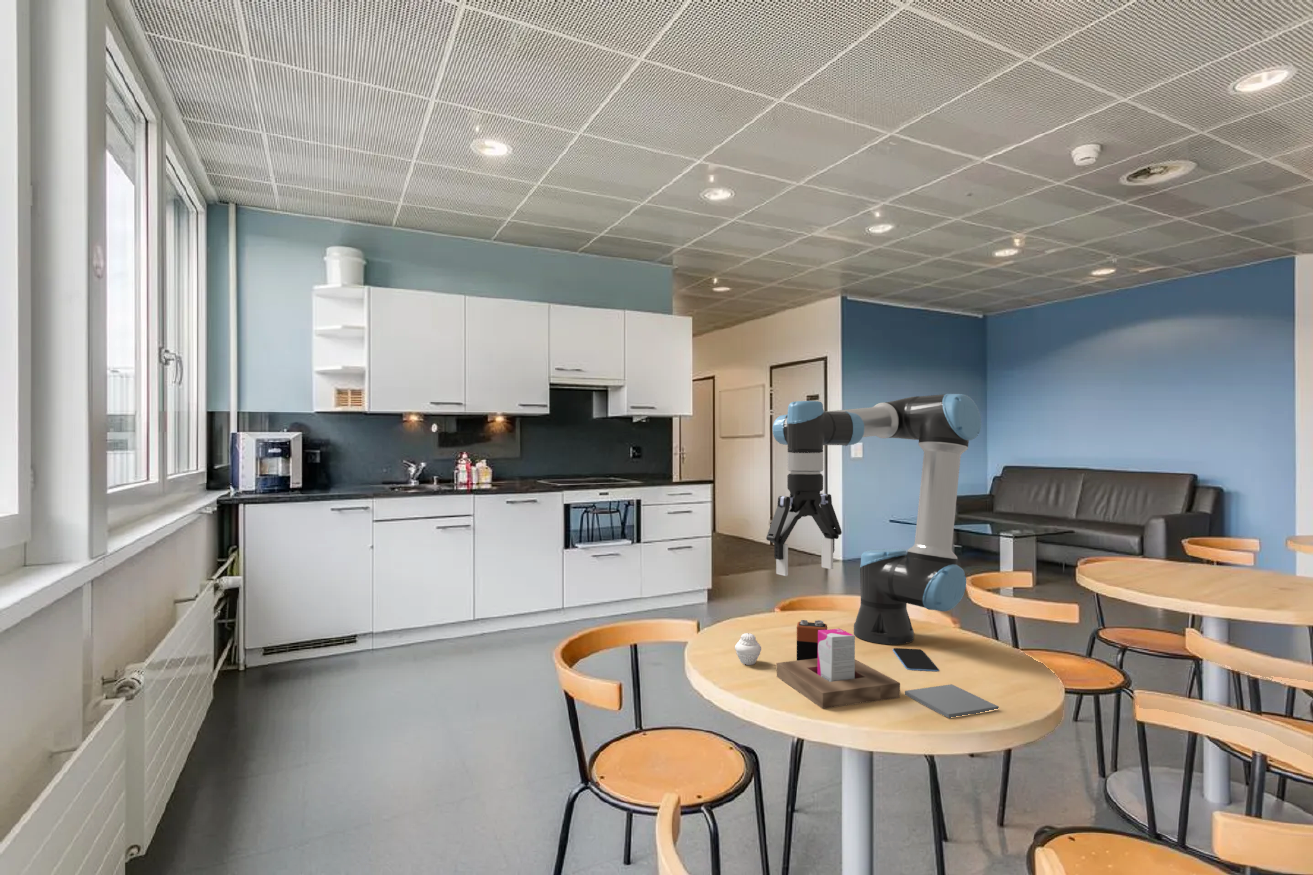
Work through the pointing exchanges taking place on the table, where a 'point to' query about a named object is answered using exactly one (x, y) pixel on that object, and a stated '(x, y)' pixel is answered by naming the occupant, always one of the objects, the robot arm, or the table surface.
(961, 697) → the mat
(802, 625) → the battery
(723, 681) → the table surface
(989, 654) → the table surface
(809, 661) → the holder
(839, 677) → the supplement box
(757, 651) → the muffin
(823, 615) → the table surface
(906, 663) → the smartphone
